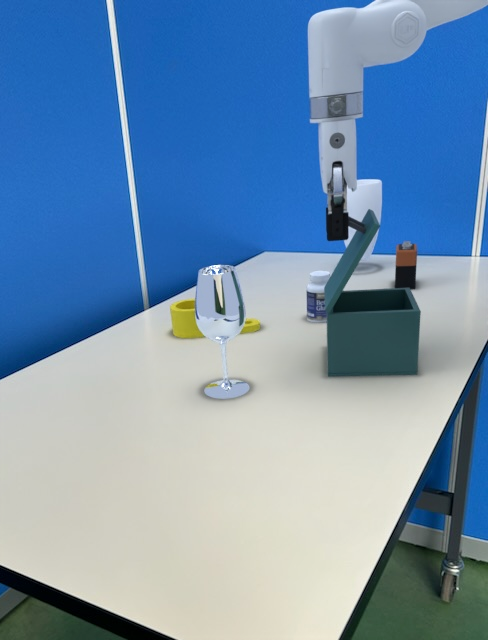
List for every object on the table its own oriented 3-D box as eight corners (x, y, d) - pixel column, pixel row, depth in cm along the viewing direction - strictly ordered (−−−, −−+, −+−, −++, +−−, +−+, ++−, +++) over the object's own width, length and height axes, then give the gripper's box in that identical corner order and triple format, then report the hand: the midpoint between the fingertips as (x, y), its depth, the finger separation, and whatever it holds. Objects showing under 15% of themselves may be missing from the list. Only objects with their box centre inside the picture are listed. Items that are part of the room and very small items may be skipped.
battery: (394, 291, 140) (396, 246, 136) (394, 282, 146) (396, 240, 142) (415, 290, 139) (417, 246, 135) (414, 282, 145) (416, 239, 141)
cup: (386, 272, 155) (389, 182, 145) (344, 277, 155) (344, 187, 146) (374, 263, 164) (376, 177, 155) (334, 267, 164) (334, 182, 155)
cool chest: (406, 347, 110) (409, 287, 105) (416, 376, 99) (420, 311, 94) (326, 349, 113) (326, 291, 108) (327, 378, 102) (327, 314, 97)
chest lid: (373, 210, 101) (343, 196, 101) (380, 225, 90) (346, 209, 90) (328, 289, 108) (300, 276, 108) (329, 313, 97) (298, 297, 97)
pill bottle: (316, 325, 125) (316, 278, 121) (301, 319, 129) (300, 273, 125) (339, 320, 127) (339, 272, 123) (323, 313, 131) (323, 268, 127)
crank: (169, 340, 126) (166, 312, 124) (177, 326, 134) (174, 299, 131) (258, 336, 123) (257, 307, 120) (261, 322, 130) (259, 295, 128)
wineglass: (244, 377, 105) (235, 260, 97) (256, 396, 98) (248, 271, 90) (199, 385, 104) (186, 267, 96) (208, 404, 97) (195, 279, 89)
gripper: (367, 107, 82) (365, 246, 89) (359, 104, 97) (358, 224, 104) (309, 114, 83) (312, 250, 91) (310, 110, 98) (312, 227, 106)
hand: (337, 234), depth 98 cm, fingers closed on chest lid, 5 cm apart
